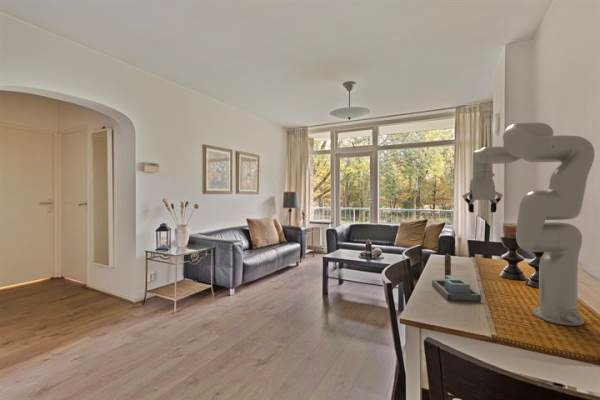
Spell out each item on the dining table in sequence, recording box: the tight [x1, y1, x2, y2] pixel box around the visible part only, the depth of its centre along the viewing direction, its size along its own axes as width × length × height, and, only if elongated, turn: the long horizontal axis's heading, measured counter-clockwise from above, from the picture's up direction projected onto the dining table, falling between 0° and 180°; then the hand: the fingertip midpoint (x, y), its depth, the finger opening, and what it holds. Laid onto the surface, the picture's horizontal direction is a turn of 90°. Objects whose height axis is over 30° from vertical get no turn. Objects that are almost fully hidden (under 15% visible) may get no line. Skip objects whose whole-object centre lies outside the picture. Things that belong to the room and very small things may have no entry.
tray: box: [431, 279, 482, 303], centre depth 121 cm, size 19×12×2 cm, turn 172°
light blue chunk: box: [444, 274, 471, 294], centre depth 121 cm, size 7×13×5 cm, turn 172°
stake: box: [444, 253, 452, 276], centre depth 137 cm, size 3×3×13 cm
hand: (482, 212), depth 138 cm, fingers open, 9 cm apart
